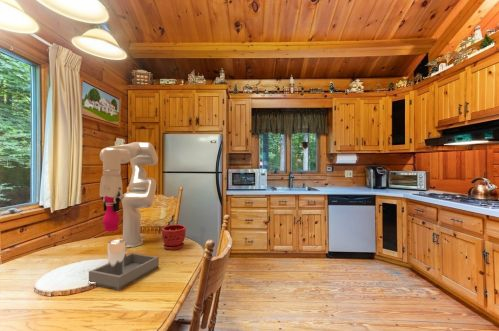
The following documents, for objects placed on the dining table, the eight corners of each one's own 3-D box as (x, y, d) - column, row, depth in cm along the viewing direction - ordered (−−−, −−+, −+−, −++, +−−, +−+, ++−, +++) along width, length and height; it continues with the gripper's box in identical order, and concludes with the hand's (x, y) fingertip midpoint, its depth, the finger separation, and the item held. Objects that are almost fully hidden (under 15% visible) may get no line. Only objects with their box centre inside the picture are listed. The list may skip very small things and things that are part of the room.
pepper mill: (112, 232, 115) (112, 189, 115) (98, 231, 117) (99, 189, 116) (122, 228, 122) (123, 188, 122) (110, 227, 124) (110, 187, 123)
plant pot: (158, 247, 143) (158, 226, 143) (179, 242, 152) (179, 223, 152) (167, 253, 133) (167, 231, 133) (189, 248, 142) (189, 227, 142)
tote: (131, 263, 118) (132, 253, 118) (158, 267, 113) (158, 257, 114) (88, 284, 97) (88, 271, 97) (118, 290, 92) (119, 277, 92)
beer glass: (129, 274, 104) (130, 239, 104) (119, 282, 97) (119, 244, 97) (114, 273, 104) (114, 238, 105) (102, 281, 97) (103, 243, 98)
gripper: (91, 173, 118) (91, 210, 118) (119, 174, 113) (118, 213, 113) (105, 172, 125) (104, 208, 125) (131, 173, 120) (131, 210, 120)
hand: (111, 210), depth 119 cm, fingers closed on pepper mill, 5 cm apart
